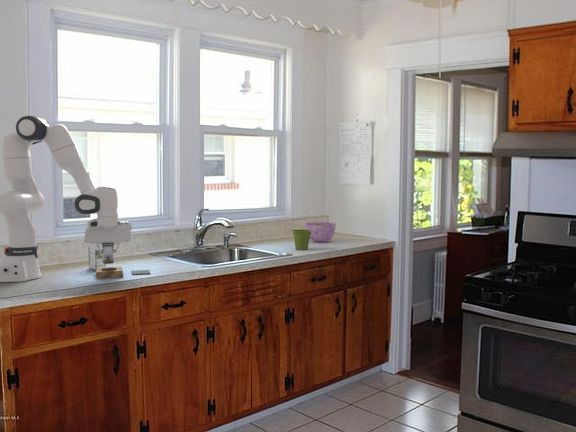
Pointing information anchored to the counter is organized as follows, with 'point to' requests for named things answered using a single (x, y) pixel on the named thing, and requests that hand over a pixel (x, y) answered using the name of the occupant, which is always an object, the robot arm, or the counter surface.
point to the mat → (140, 272)
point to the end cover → (107, 253)
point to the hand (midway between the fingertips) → (108, 252)
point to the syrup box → (95, 256)
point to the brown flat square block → (109, 272)
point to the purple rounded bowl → (321, 231)
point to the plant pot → (301, 238)
